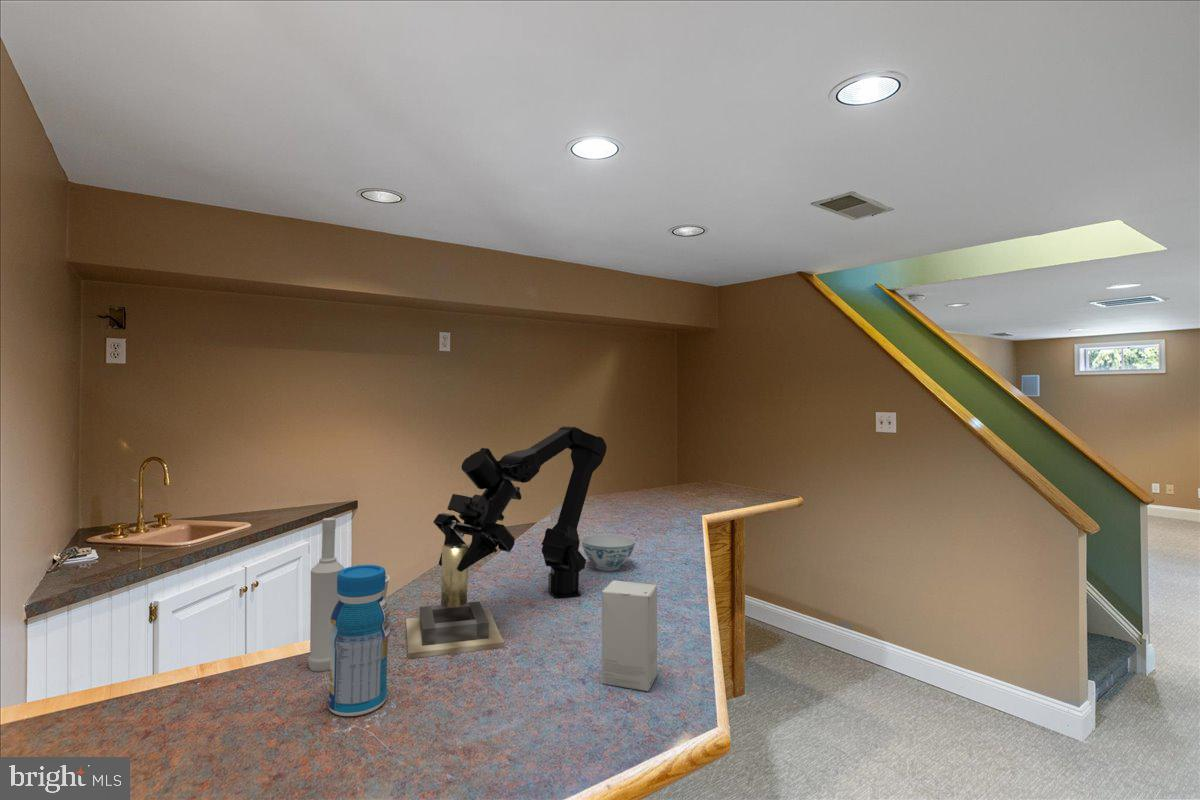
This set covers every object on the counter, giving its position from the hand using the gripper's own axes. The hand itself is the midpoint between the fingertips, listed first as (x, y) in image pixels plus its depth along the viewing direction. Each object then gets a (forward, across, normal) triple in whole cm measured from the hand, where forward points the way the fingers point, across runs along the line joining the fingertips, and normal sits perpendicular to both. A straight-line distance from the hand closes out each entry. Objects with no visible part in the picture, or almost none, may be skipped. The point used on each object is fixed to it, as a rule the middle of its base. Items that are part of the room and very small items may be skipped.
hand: (449, 567), depth 112 cm
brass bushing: (+4, 0, +6) cm, 7 cm away
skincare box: (+5, +37, +15) cm, 40 cm away
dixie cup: (+15, -16, +5) cm, 22 cm away
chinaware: (-32, -3, +52) cm, 61 cm away
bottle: (+24, -7, -5) cm, 26 cm away
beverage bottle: (+27, +9, -8) cm, 29 cm away
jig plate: (+9, 0, +10) cm, 13 cm away
